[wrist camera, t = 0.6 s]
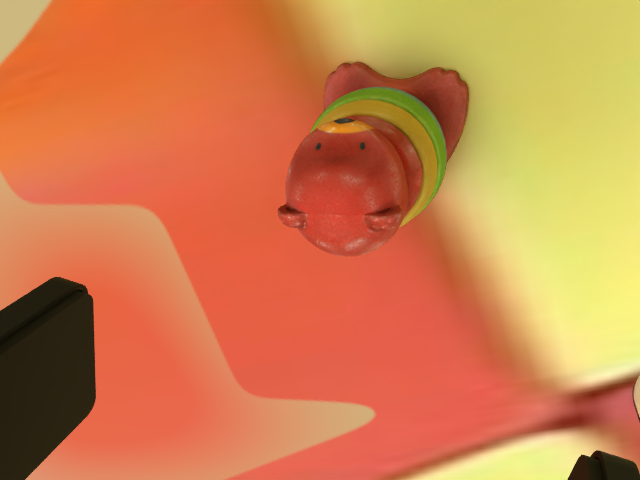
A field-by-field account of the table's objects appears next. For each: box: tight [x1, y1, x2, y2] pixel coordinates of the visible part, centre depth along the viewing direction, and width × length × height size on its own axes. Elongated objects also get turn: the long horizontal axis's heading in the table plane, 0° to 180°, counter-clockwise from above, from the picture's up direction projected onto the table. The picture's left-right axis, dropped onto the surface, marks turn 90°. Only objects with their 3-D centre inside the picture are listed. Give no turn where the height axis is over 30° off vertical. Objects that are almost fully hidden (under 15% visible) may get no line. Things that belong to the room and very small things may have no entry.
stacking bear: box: [278, 62, 469, 257], centre depth 36 cm, size 11×10×18 cm
